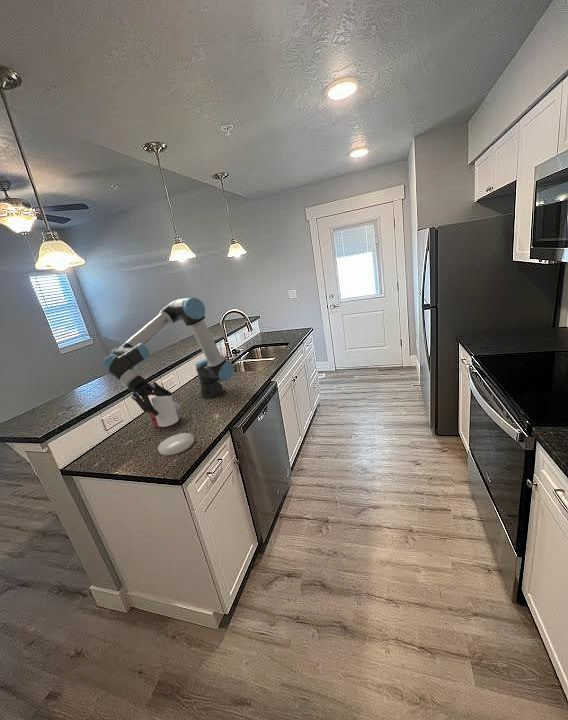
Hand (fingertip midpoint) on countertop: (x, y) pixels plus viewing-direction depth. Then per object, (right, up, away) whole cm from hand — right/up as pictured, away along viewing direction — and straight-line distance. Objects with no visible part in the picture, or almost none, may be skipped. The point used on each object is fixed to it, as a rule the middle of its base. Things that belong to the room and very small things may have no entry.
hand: (171, 413), depth 134 cm
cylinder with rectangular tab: (-2, -4, +2) cm, 6 cm away
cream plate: (0, -16, +6) cm, 17 cm away
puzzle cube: (-15, -11, +33) cm, 37 cm away
